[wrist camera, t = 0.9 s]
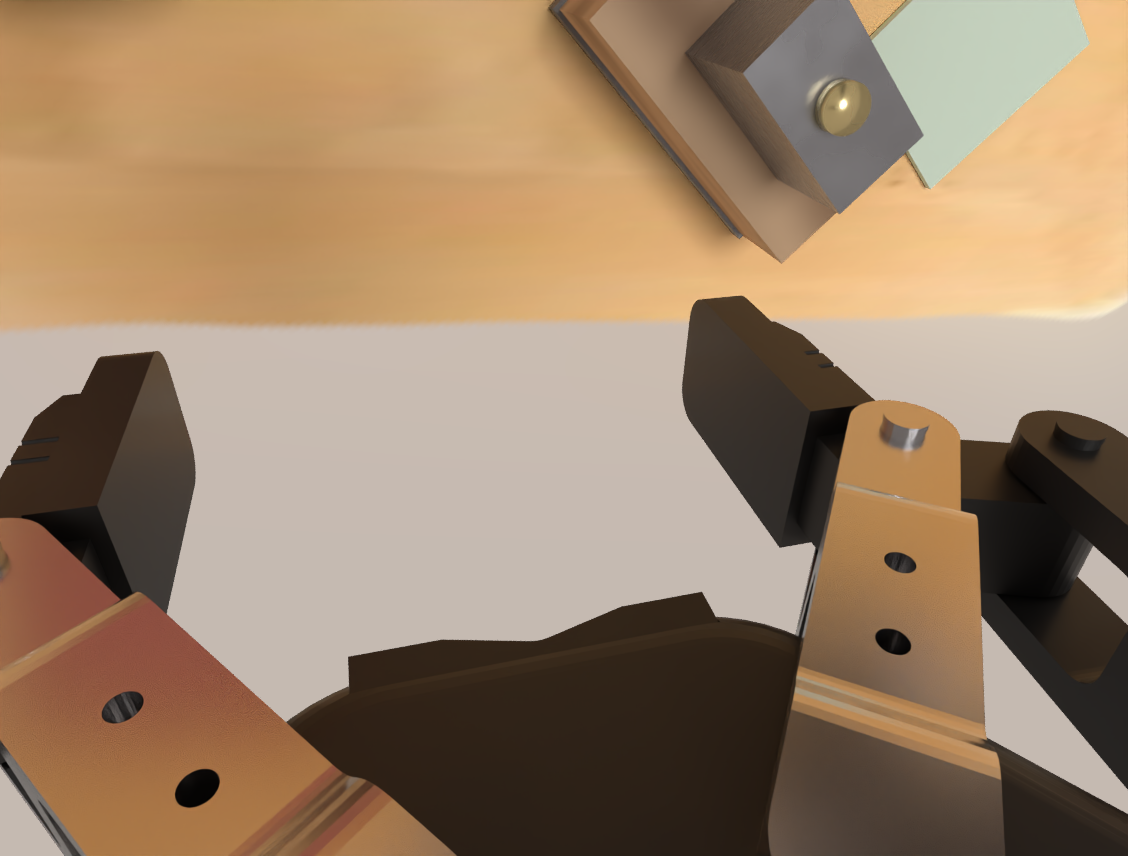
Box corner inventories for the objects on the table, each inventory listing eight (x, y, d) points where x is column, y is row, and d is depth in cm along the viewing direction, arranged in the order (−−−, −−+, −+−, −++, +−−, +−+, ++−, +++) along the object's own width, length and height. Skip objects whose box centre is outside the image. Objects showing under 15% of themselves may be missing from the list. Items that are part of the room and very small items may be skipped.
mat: (1025, -117, 35) (1031, -117, 35) (1083, 42, 40) (1089, 43, 40) (849, 56, 37) (854, 57, 37) (925, 187, 42) (930, 189, 42)
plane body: (698, -160, 31) (757, -172, 27) (861, 111, 39) (926, 133, 35) (548, 7, 33) (582, 20, 28) (733, 234, 40) (780, 269, 36)
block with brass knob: (764, -31, 29) (846, -21, 25) (849, 109, 33) (934, 139, 29) (684, 52, 30) (751, 76, 26) (776, 179, 34) (848, 219, 29)
